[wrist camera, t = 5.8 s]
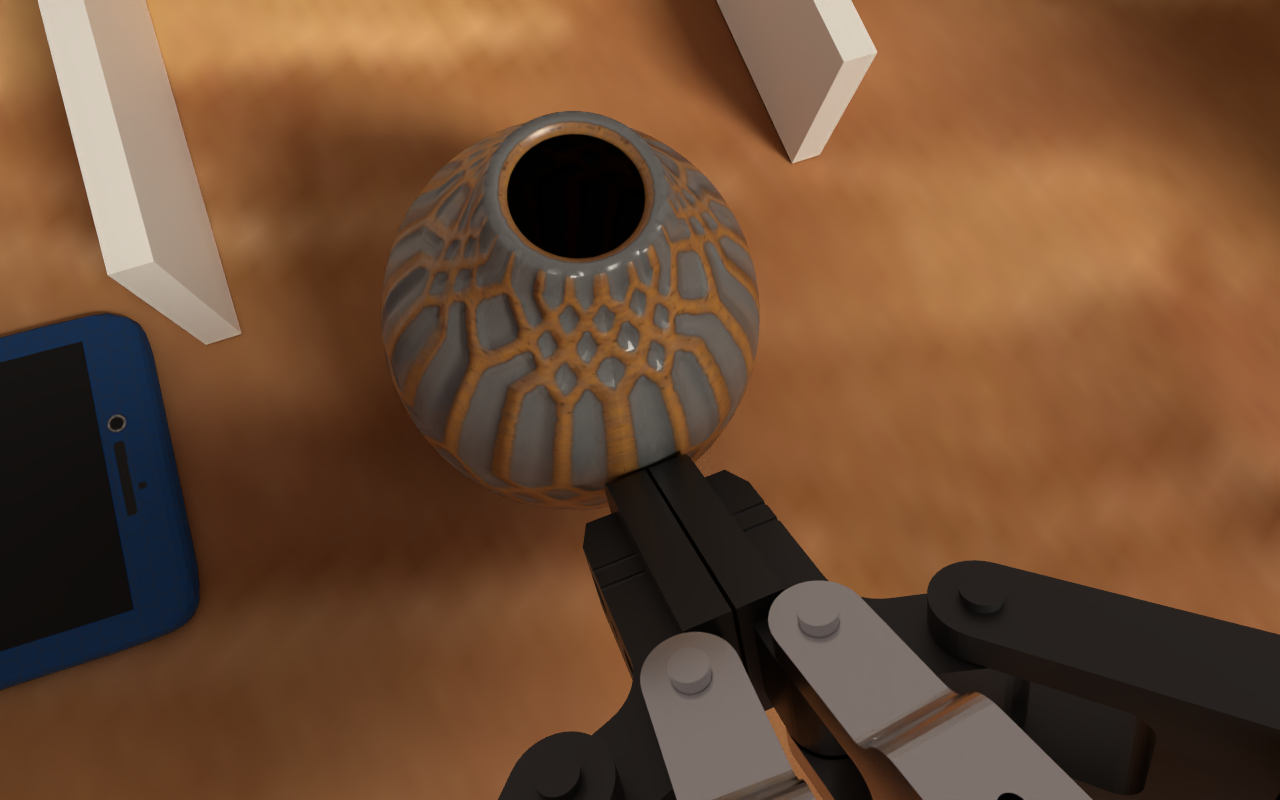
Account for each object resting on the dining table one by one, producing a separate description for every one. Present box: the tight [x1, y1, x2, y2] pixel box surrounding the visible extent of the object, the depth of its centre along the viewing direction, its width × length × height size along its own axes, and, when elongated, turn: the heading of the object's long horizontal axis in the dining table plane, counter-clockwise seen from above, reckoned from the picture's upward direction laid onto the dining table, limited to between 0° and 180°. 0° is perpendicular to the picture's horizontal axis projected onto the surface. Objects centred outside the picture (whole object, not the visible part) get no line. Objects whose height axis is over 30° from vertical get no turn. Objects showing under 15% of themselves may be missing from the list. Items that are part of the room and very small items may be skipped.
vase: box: [381, 111, 759, 510], centre depth 14 cm, size 7×7×9 cm
